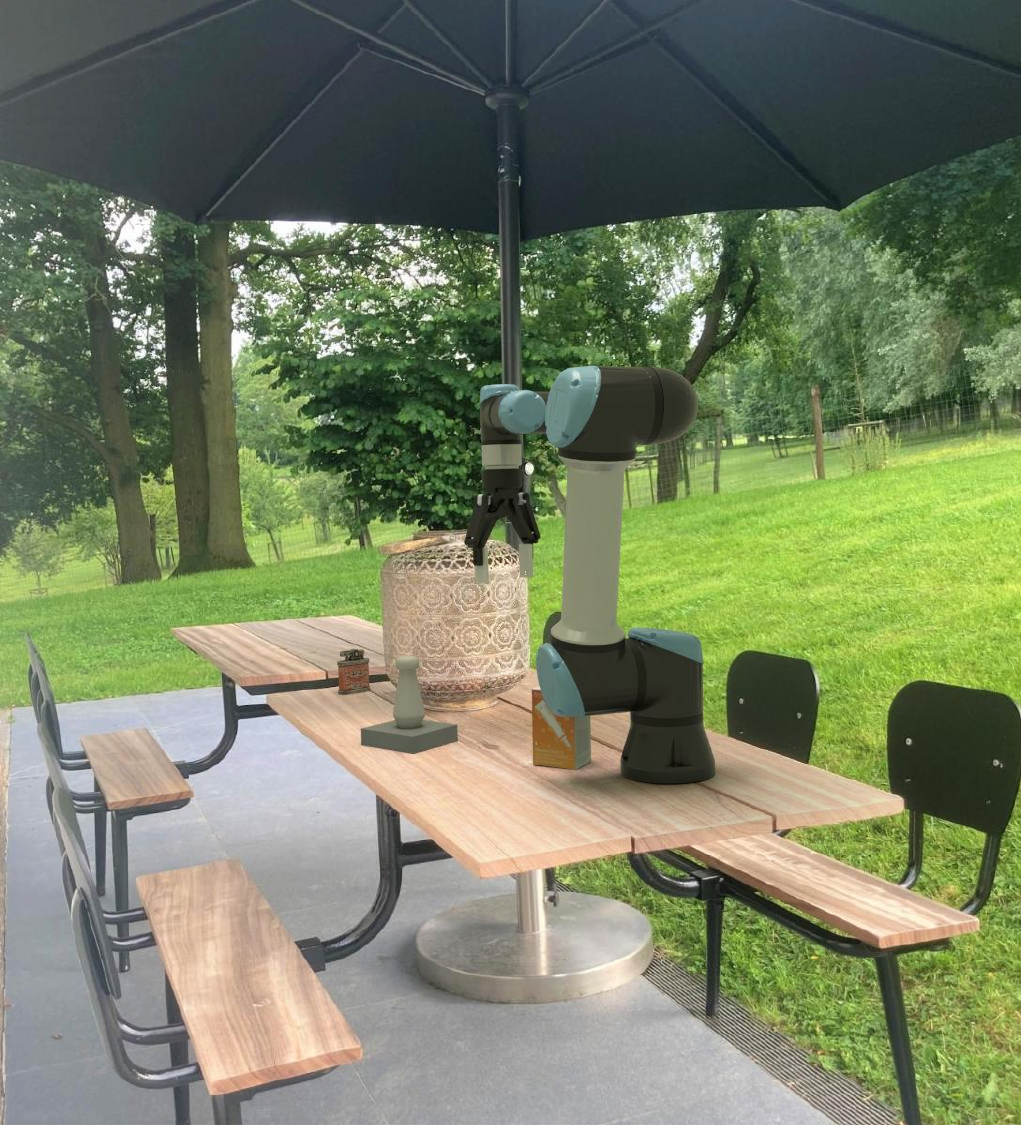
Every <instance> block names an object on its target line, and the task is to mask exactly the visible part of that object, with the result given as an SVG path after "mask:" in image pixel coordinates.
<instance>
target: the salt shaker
mask: <svg viewBox="0 0 1021 1125" xmlns="http://www.w3.org/2000/svg"><path fill="white" fill-rule="evenodd" d="M395 668H396V670H399V671H398V676H397V677H398V678H397V683H396V691H395V698H394V705H393V710H392V711H393V712H392V715H393V716H392V717H393V719H394V720H395V721H396V723H397V726H398V727H399V728H402V729H413V728H418V727H420V725H421V723H422V720H424V718H425V717H426V716H425V715H426V712H425V707H424V702H423V698H422V693H421V689H420V685H419V680H418V675H417V670H418V669H419V668H420V660H419V658H418V656H415V655H402V656H401V655H400V656H399V657H397V658H396V659H395Z"/></svg>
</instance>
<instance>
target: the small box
mask: <svg viewBox="0 0 1021 1125" xmlns="http://www.w3.org/2000/svg"><path fill="white" fill-rule="evenodd" d="M531 720H532V722H531V725H532V726H531V727H532V728H531V729H532V733H531V734H532V737H531V738H532V764H533V765H535V766H544V767H552V768H560V769H569V770H573V771H575V770H578V769H580V768H581V767H584V766H585V765H587V764H589V763H590V762H591V761H592V749H591V748H592V745H591V744H592V743H591V741H592V739H591V730H592V729H591V716H584V717H583V718H579V717H559V716H557V715H555V714H554V713H553V712H552V711H551V710H550V709H549V708H548V706H547V704H546V702H545V700H544V698H543V695H542V692H541V689H540V686H536V687H533V688H532V689H531Z"/></svg>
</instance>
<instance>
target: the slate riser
mask: <svg viewBox="0 0 1021 1125" xmlns="http://www.w3.org/2000/svg"><path fill="white" fill-rule="evenodd" d="M458 738H459V737H458V724H455V723H449V722H441V721H434V720H427V719H423V720H422V723H421V725H420V727H418V728H413V729H402V728H399V727H398V726H397V723H396V721H395V719H394V720H390V721H389V720H388V721H386V722H381V723H378V724H375V725H370V726H366V727H362V728H360V745H361V746H365V747H372V748H379V749H384V750H390V751H396V752H402V753H408V754H416V753H420V752H423V751H427V750H429V749H433V748H437V747H441V746H444V745H447V744H451V743H454V742H458V740H459V739H458Z"/></svg>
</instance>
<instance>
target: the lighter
mask: <svg viewBox="0 0 1021 1125" xmlns="http://www.w3.org/2000/svg"><path fill="white" fill-rule="evenodd" d="M364 656H365V648H364V649H362V648H361V649H360V648H359V649H358V648H354V647H353V648H351V649H350V650H349V649H347V650H341V651H340V652H339V657H341V658H342V657H343V658H344V659H342V660H337V661H336V662H337V663H336V664H337V667H338V668H337V669H338V670H337V671H338V673H337V674H338V675H337V676H338V689H337V691H338V692H337V693H338V694H337V695H340V696H345V695H346V696H347V695H354V694H362V693H366V692H370V691H371V686H370V670H369V669H370V665H369V663H370V658H369V657H364Z"/></svg>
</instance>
